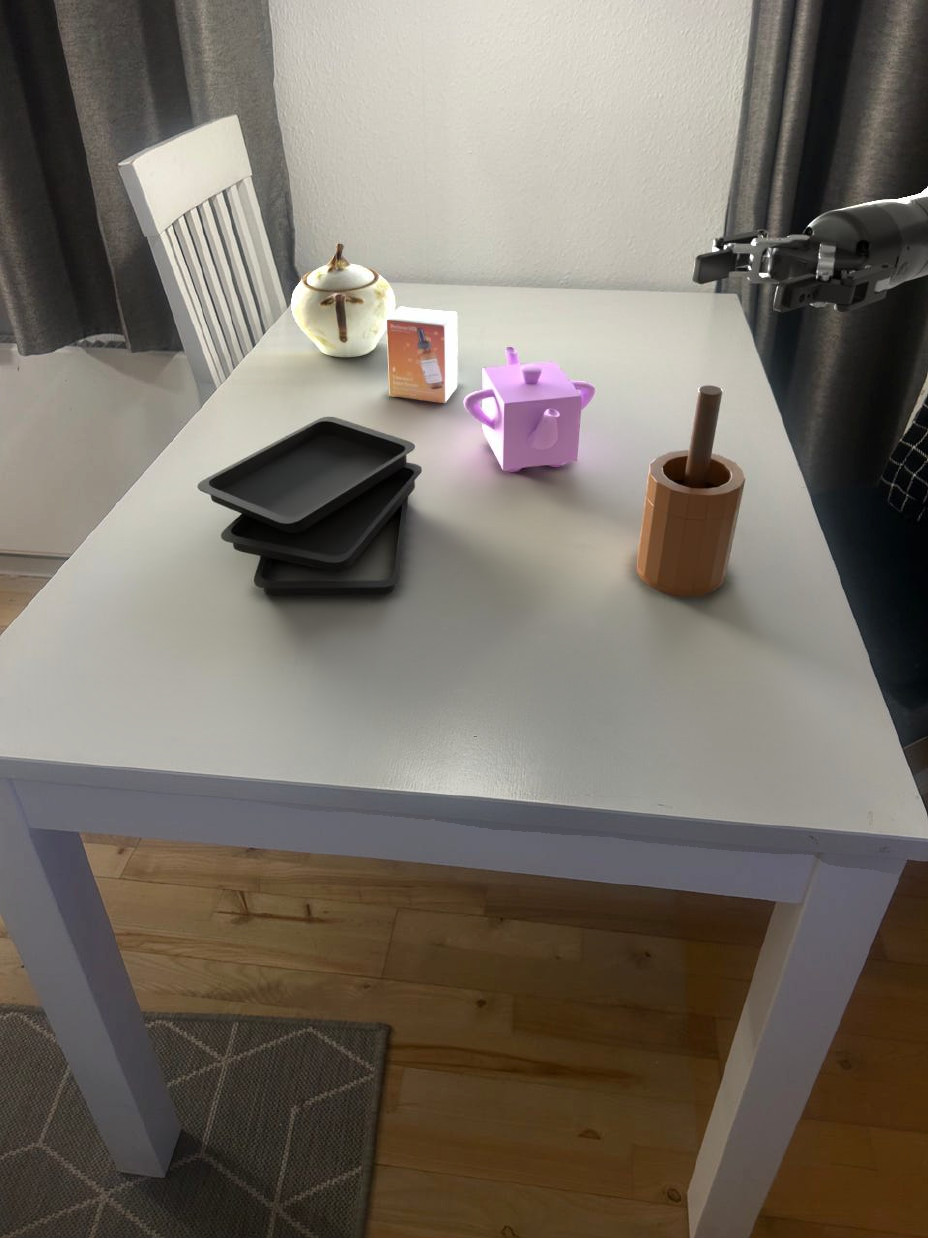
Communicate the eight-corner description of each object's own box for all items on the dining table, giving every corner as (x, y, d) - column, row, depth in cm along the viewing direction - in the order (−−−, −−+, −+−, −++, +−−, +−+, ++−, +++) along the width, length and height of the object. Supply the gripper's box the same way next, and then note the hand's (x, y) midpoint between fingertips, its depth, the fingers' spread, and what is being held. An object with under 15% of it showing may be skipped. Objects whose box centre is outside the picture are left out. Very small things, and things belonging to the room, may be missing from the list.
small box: (388, 397, 122) (384, 319, 115) (403, 381, 126) (399, 304, 119) (446, 404, 120) (444, 325, 113) (458, 387, 124) (457, 310, 118)
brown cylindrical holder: (700, 543, 93) (717, 445, 86) (740, 590, 86) (762, 487, 80) (623, 555, 91) (635, 456, 85) (657, 603, 85) (673, 500, 78)
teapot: (442, 459, 108) (440, 370, 101) (506, 419, 116) (509, 335, 110) (551, 498, 100) (557, 405, 94) (611, 452, 109) (621, 364, 102)
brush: (689, 553, 90) (719, 379, 79) (705, 572, 87) (738, 395, 76) (657, 558, 89) (683, 383, 78) (672, 577, 87) (701, 399, 76)
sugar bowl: (399, 371, 129) (393, 261, 120) (292, 375, 128) (278, 265, 119) (395, 322, 144) (390, 221, 135) (300, 325, 143) (288, 224, 134)
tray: (449, 595, 86) (448, 549, 83) (197, 622, 83) (186, 575, 80) (410, 450, 110) (408, 410, 106) (212, 467, 107) (204, 426, 103)
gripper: (807, 188, 82) (677, 214, 75) (953, 221, 72) (820, 255, 65) (789, 274, 86) (665, 307, 79) (925, 315, 77) (798, 357, 70)
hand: (735, 283), depth 72 cm, fingers open, 8 cm apart
